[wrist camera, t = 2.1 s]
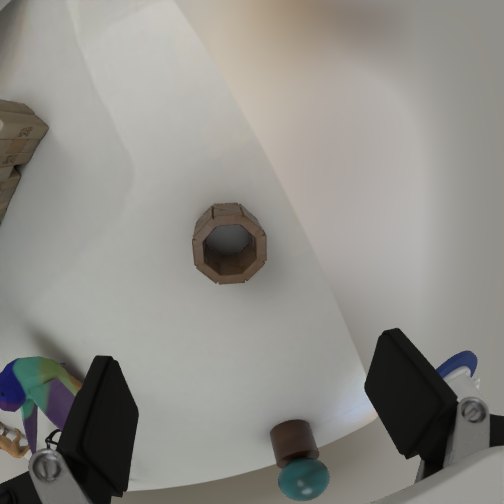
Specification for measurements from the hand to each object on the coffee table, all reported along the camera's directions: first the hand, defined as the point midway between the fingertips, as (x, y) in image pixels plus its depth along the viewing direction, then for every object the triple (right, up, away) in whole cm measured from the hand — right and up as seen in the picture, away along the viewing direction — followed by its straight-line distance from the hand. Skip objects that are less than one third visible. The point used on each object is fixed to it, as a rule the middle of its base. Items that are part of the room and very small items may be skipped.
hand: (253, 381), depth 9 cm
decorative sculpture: (-25, -9, +20) cm, 33 cm away
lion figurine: (-53, -35, +25) cm, 69 cm away
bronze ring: (-2, +6, +17) cm, 18 cm away
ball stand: (+6, -24, +29) cm, 38 cm away
